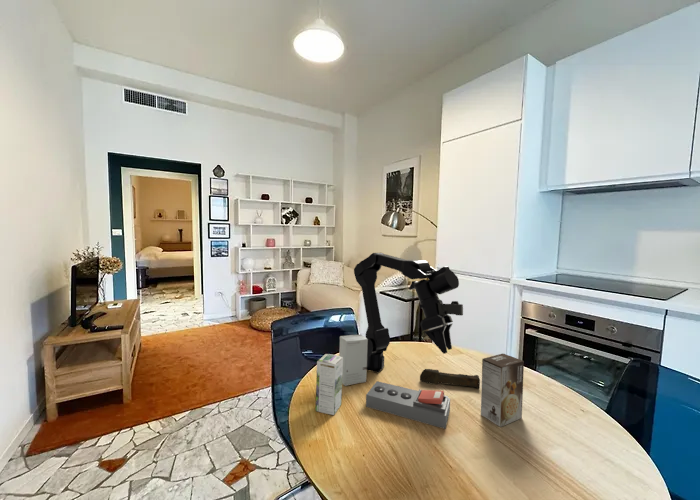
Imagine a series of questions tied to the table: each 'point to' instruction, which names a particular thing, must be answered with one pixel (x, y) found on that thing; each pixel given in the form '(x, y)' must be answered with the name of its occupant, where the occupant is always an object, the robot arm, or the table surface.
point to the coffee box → (502, 389)
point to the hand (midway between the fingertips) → (447, 351)
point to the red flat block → (431, 396)
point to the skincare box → (353, 358)
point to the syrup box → (329, 384)
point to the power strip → (407, 404)
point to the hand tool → (449, 378)
